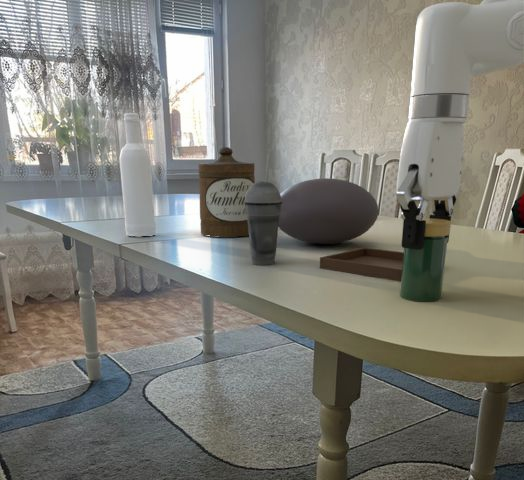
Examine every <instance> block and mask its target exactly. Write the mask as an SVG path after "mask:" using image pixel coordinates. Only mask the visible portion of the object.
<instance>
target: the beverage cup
mask: <svg viewBox="0 0 524 480" xmlns="http://www.w3.org/2000/svg"><path fill="white" fill-rule="evenodd" d="M270 159H271V156H269V155H267V158H266V166H265V174H264V175H265V176H264V177H265V179H264V181H255V183H254V184H252V185H251V186H250V187H249V189H248V190H247V192H246V195H245V202H244V204H245V210H246V214H247V221H248V231H249V236H248V240H249V241H248V242H249V250H250V251H249V252H250V257H251V264H252V265H256V266H271V265H274V264H276V263H275V260H276V256H277V255H276V254H277V244H278V243H277V242H278V231H279V227H278V222H279V214H280V210H281V204H282V202H281V196H280V194H281V192H280V191H279V189H278V188H277V186H275V184H273V183H272V182H271V181H268V179H269V169H270V161H271V160H270Z"/></svg>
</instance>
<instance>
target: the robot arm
mask: <svg viewBox="0 0 524 480" xmlns="http://www.w3.org/2000/svg"><path fill="white" fill-rule="evenodd" d="M416 19H417V20H416V25H415V34H414V46H413V47H414V48H413V49H414V50H413V61H412V74H411V88H410V99H409V112H408V122H407V123H406V127H405V131H404V135H403V139H402V143H401V150H400V156H399V164H398V169H397V170H398V171H397V180H396V194H395V195H396V199H397V201H398V203H399V208H400V210H401V220H403V221H402V222H403V223H402V234H401V235H402V236H401V247H402V248H403V249H404V248H409V249H417V250H421V249H423V247H424V236H425V226H426V220H423V218H425V214H426V210H427V207H428V205H429V200H430V204H431V210H432V214H429V216H428V218H432V219H444V220H449V221H451V222H452V216H453V214H454V206H455V204H456V202H457V198H458V196H459V194H460V192H461V188H462V187H461V179H462V173H463V172H462V171H463V160H464V159H463V158H464V124H466V123H467V118H468V110H469V103H470V102H469V101H470V92H471V84H472V77H481V76H484V75H489V74H491V73H492V74H493V73H495V72H499V71H504V70H507V69H511V68H514V67H517V66H520V65H522V64H524V0H482V1H481V2H480V3H479V4H471V3H467V2H464V1H448V2H440V3H434V4H432V5H429V6H427V7H425V8H423V9H422V10H421V11H420V13H419V14H418V16H417V18H416ZM417 204H418V206H417ZM447 237H448V240H447V244H448V243H449V240H450V234H449V235H447Z"/></svg>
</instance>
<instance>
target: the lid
mask: <svg viewBox="0 0 524 480" xmlns="http://www.w3.org/2000/svg"><path fill="white" fill-rule="evenodd" d="M423 220H426V226H425V236H427V237H437V236H447V235H449V236H450V235H451V228H452V227H451V225H452V220H451V221H449V220H444V219H432V218H429V217H427V218H426V217H423Z"/></svg>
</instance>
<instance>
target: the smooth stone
mask: <svg viewBox="0 0 524 480" xmlns="http://www.w3.org/2000/svg"><path fill="white" fill-rule="evenodd" d="M280 196H281V202H282V204H281V210H280V214H279V222H278V229H280V230H281V232H283V233H284V234H286V235H287V236H288V237H291V238H293V239H295V240H297V241H301V242H304V243H308V244H314V245H315V244H316V245H333V244H340V243H345V242H348V241H352V240H355V239H356V238H359V237H361V236H362V235H364V234H365V233H367V232H368V231H369V230H370V229H371V228H372V227H373V226H374V225H375V223H376V222H377V220H378V217H379V204H378V202H377V200H376V199H375V197H374V196H373V194H372V193H371V192H370V191H368V190H367V189H366V188H364V187H362V186H361V185H359V184H357V183H354V182H351V181H349V180H345V179H338V178H313V179H308V180H304V181H301V182H298V183H295V184H293V185H291V186H289V187H287V188H286V189H284V191H282V192H280Z"/></svg>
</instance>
